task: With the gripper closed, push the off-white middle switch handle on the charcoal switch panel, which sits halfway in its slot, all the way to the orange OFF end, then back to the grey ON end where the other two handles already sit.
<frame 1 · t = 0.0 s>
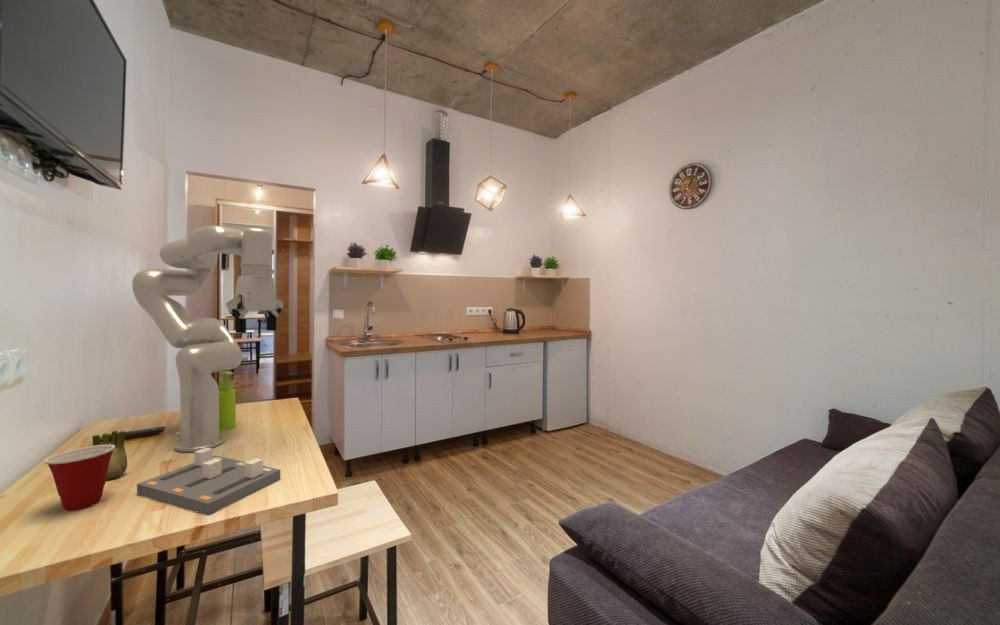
hand: (256, 331, 113), 37 cm above the table, tool pointing down, fingers open, 9 cm apart
tripped switch: (212, 468, 96), point 4 cm above the table, slide at 4.0 cm
soap dispenser: (226, 428, 138), on the table
left switch: (203, 456, 103), point 4 cm above the table, slide at 0.0 cm
right switch: (254, 468, 97), point 4 cm above the table, slide at 0.0 cm
fennel bulb: (111, 478, 100), on the table
plastic cup: (82, 504, 87), on the table
switch panel: (212, 486, 97), on the table
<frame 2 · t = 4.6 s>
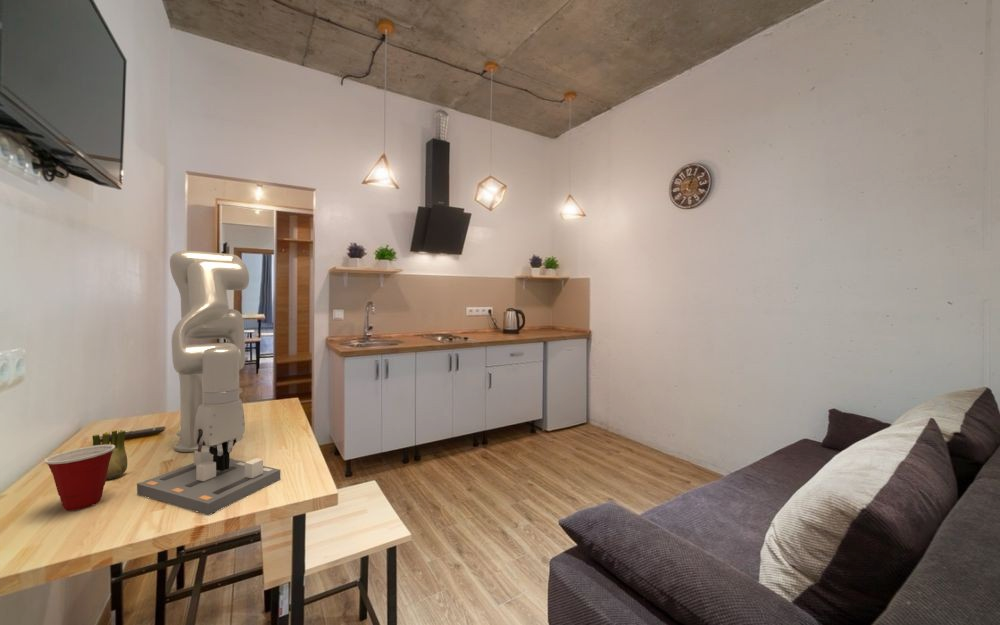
hand: (221, 468, 99), 3 cm above the table, tool pointing down, fingers closed
tripped switch: (206, 470, 95), point 4 cm above the table, slide at 5.4 cm, touching gripper
everything else where it was.
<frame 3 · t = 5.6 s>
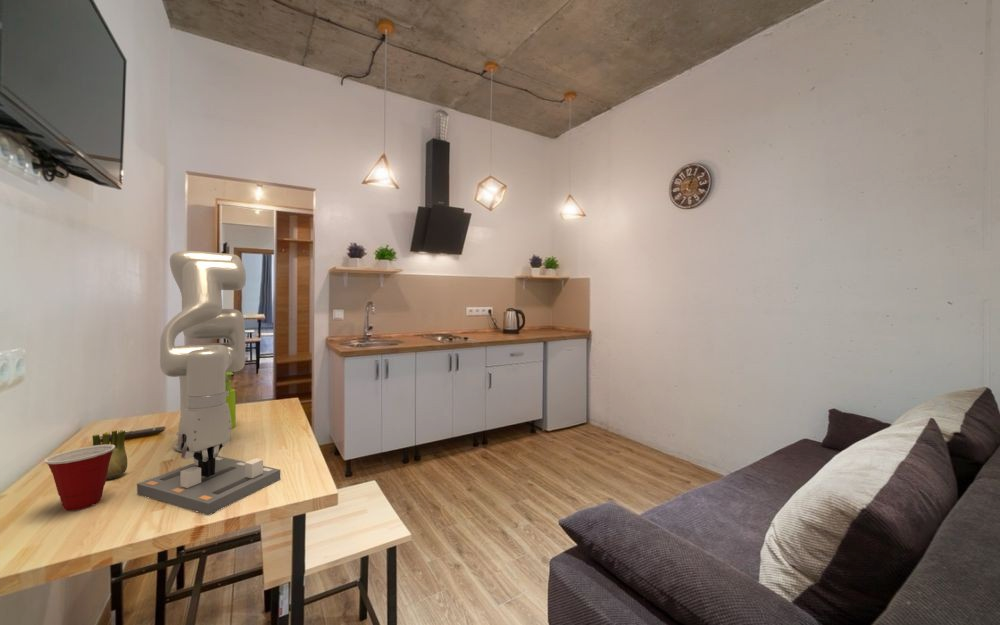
hand: (206, 474, 95), 3 cm above the table, tool pointing down, fingers closed
tripped switch: (190, 476, 92), point 4 cm above the table, slide at 8.8 cm, touching gripper
everything else where it was.
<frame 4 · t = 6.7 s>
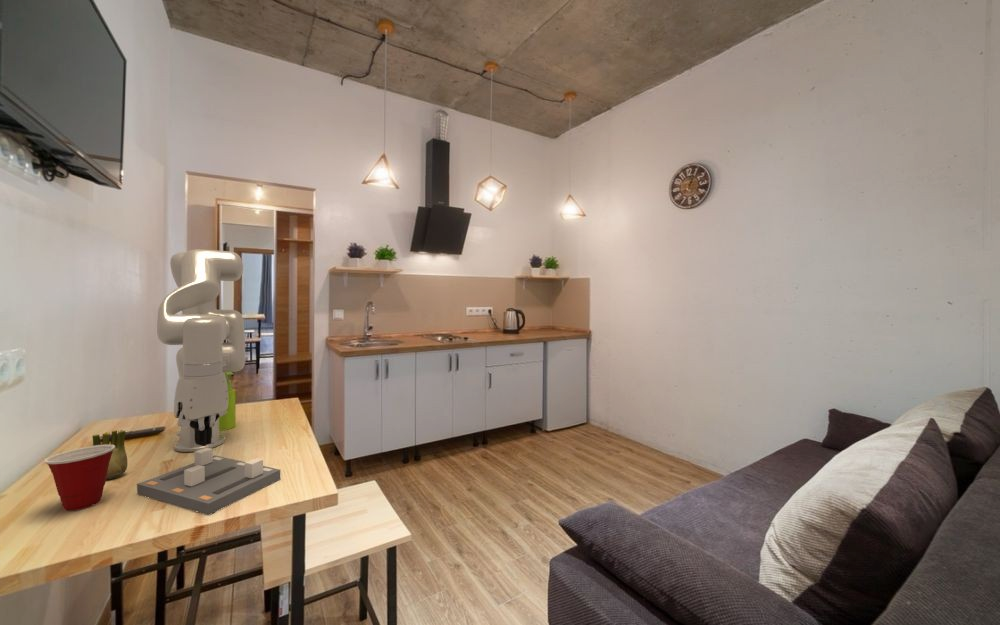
hand: (203, 443, 95), 11 cm above the table, tool pointing down, fingers closed
tripped switch: (194, 475, 93), point 4 cm above the table, slide at 8.1 cm
everything else where it was.
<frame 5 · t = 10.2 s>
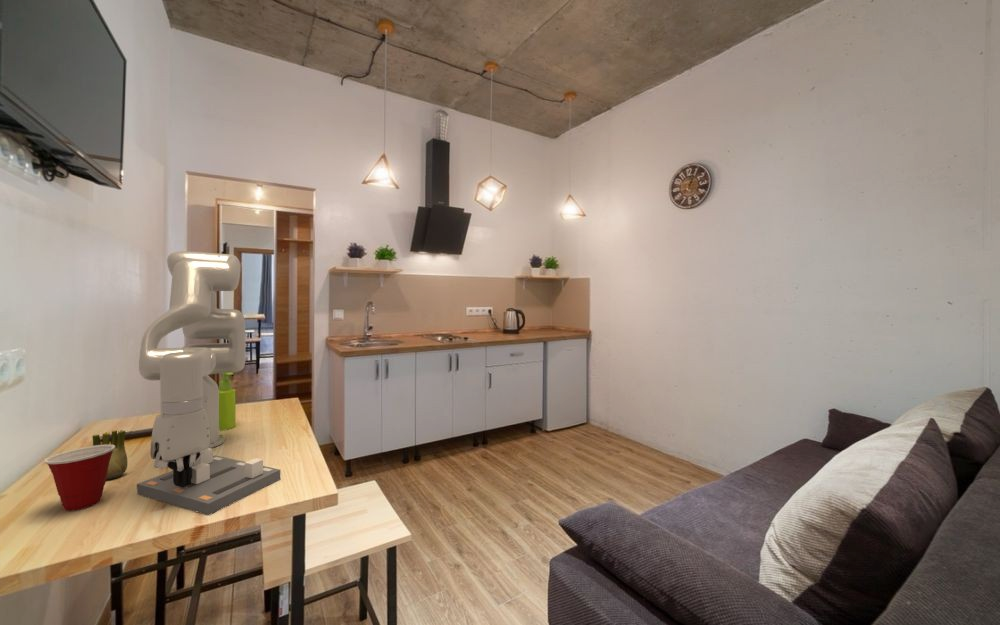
hand: (182, 484, 90), 3 cm above the table, tool pointing down, fingers closed
tripped switch: (199, 473, 94), point 4 cm above the table, slide at 6.9 cm, touching gripper
everything else where it was.
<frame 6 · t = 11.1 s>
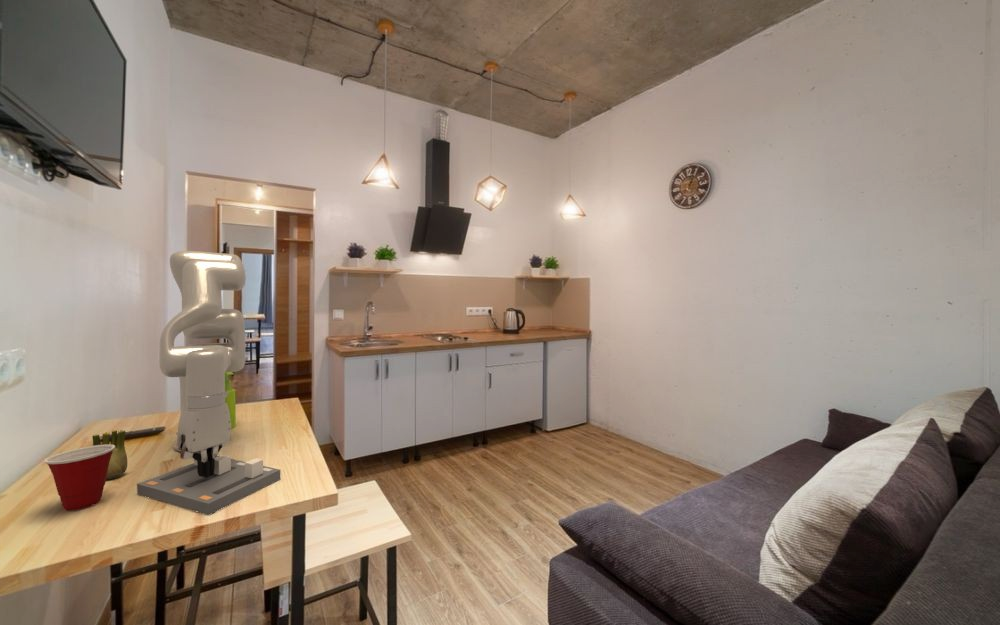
hand: (206, 475, 95), 3 cm above the table, tool pointing down, fingers closed
tripped switch: (221, 464, 99), point 4 cm above the table, slide at 1.7 cm, touching gripper
everything else where it was.
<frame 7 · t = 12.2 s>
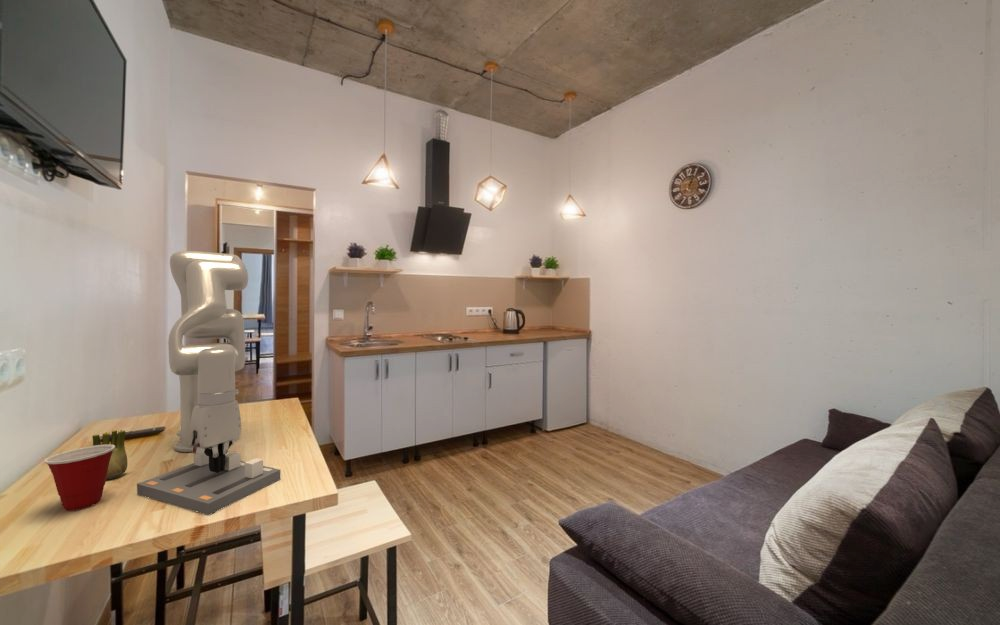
hand: (217, 470, 98), 3 cm above the table, tool pointing down, fingers closed
tripped switch: (231, 460, 101), point 4 cm above the table, slide at -0.9 cm, touching gripper
everything else where it was.
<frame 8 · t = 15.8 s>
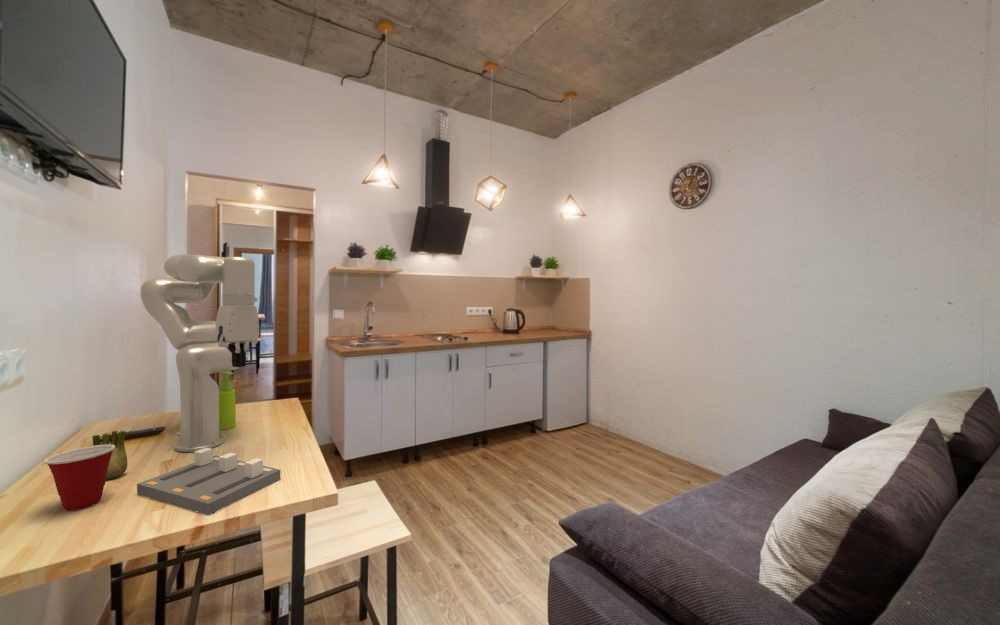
hand: (238, 366, 110), 27 cm above the table, tool pointing down, fingers closed
tripped switch: (228, 462, 100), point 4 cm above the table, slide at -0.1 cm
everything else where it was.
at the end: tripped switch slide at -0.1 cm; left switch slide at 0.0 cm; right switch slide at 0.0 cm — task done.
